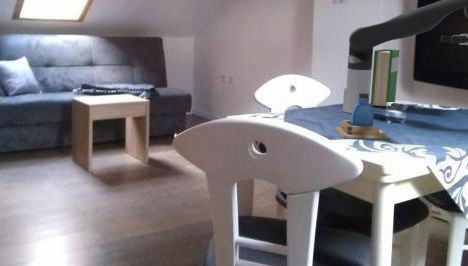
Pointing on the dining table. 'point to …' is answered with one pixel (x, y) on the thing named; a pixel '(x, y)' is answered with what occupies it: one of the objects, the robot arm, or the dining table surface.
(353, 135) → the u cradle
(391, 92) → the hardback book
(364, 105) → the perfume bottle
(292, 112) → the dining table surface
